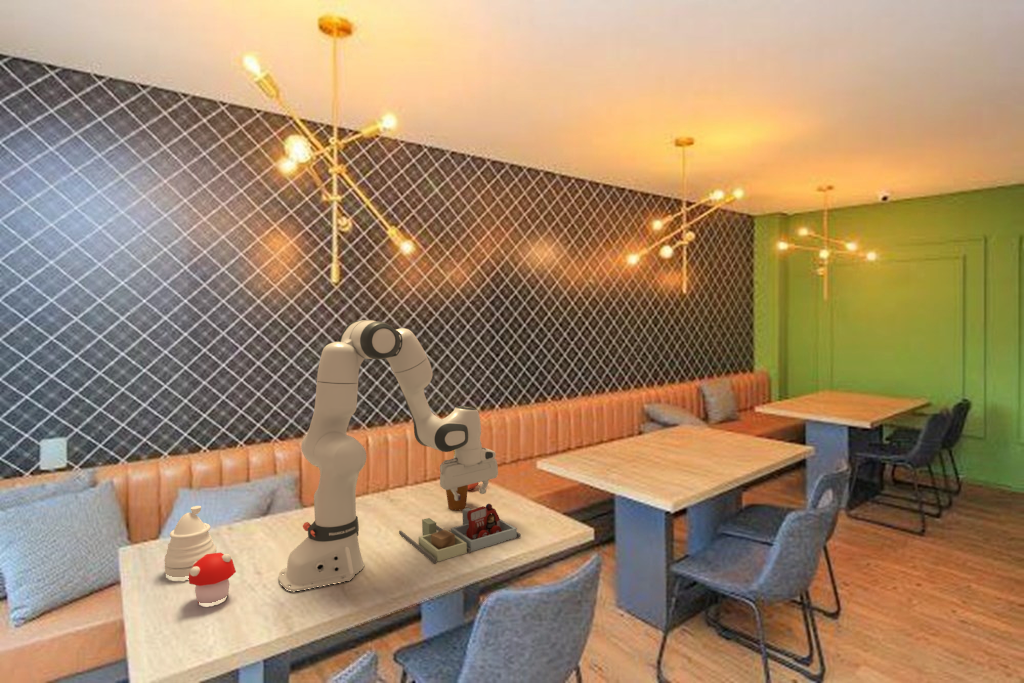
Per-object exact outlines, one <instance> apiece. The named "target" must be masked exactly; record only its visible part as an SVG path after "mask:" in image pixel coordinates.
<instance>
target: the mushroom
mask: <svg viewBox="0 0 1024 683" xmlns="http://www.w3.org/2000/svg"><path fill="white" fill-rule="evenodd" d="M235 573H237V571H236V567H235V564H234V562H233V559H232V556H231V554H229V553H223V552H217V553H213V554H206V555H205V556H203V557H202V558H201V559H200V560H198V561H196V562H194V563H193V567H192V568H191V570H190V573H189V578H188V579H189V581H188V583H189V584H190V585H193V586H195V588H194V593H195V596H196V600H197V603H198V602H200V603H212V602H216V601H218V600H221V599H223V598H225V597H226V596H227V595H228V596H229V591H230V580H229V579H230V578H231V577H232V576H233V575H235Z"/></svg>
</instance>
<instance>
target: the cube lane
mask: <svg viewBox="0 0 1024 683" xmlns="http://www.w3.org/2000/svg"><path fill="white" fill-rule="evenodd" d="M421 525H422V526H421V527H422V533H421V534H422V535H421V536H418V545H420V546H421V547H422V548H423V549H424V550H426V551H427V552H428V553H429V554H431V555H432V556H433V557H434V558H436V563H438V562H441V561H444V560H447V559H451V558H454V557H457V556H461V555H465V554H467V553H468V552H467V543H466V542H464V541H463V540H462V539H460V538H459V537H457V536H456V535H455V545H453V546H450V547H446V548H443V549H440V550H438V549H437V548H436V547H434V546H433V545H432V544H431V534H434V533H437V532H438V531H437V528H436V525H437V522H436V521H435V520H433V519H432V518H430V517H426V518H424V519H423V518H422V520H421ZM445 530H446V531H449V532H451V530H448V529H445Z"/></svg>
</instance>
